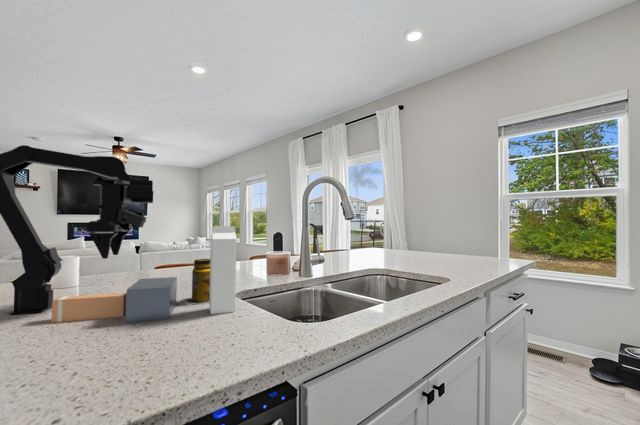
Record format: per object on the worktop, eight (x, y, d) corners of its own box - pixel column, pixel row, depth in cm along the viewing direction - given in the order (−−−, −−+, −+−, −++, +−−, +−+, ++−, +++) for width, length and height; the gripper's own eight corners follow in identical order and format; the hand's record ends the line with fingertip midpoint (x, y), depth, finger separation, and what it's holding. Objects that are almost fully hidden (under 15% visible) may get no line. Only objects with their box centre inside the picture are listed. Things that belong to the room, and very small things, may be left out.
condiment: (217, 301, 88) (218, 260, 89) (186, 305, 84) (187, 262, 84) (211, 296, 94) (212, 257, 95) (181, 300, 90) (182, 259, 90)
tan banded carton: (51, 322, 69) (52, 299, 69) (57, 318, 72) (58, 296, 72) (122, 316, 74) (123, 295, 74) (126, 312, 77) (126, 292, 77)
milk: (235, 312, 78) (237, 226, 79) (210, 314, 76) (212, 226, 76) (232, 306, 84) (234, 226, 84) (208, 308, 81) (210, 225, 82)
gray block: (122, 323, 69) (123, 289, 69) (137, 306, 82) (138, 278, 82) (169, 319, 72) (170, 287, 72) (176, 303, 85) (176, 277, 86)
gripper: (136, 200, 81) (134, 259, 80) (150, 204, 98) (149, 252, 98) (86, 199, 77) (84, 261, 76) (110, 203, 95) (108, 253, 94)
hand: (110, 256), depth 86 cm, fingers open, 9 cm apart
